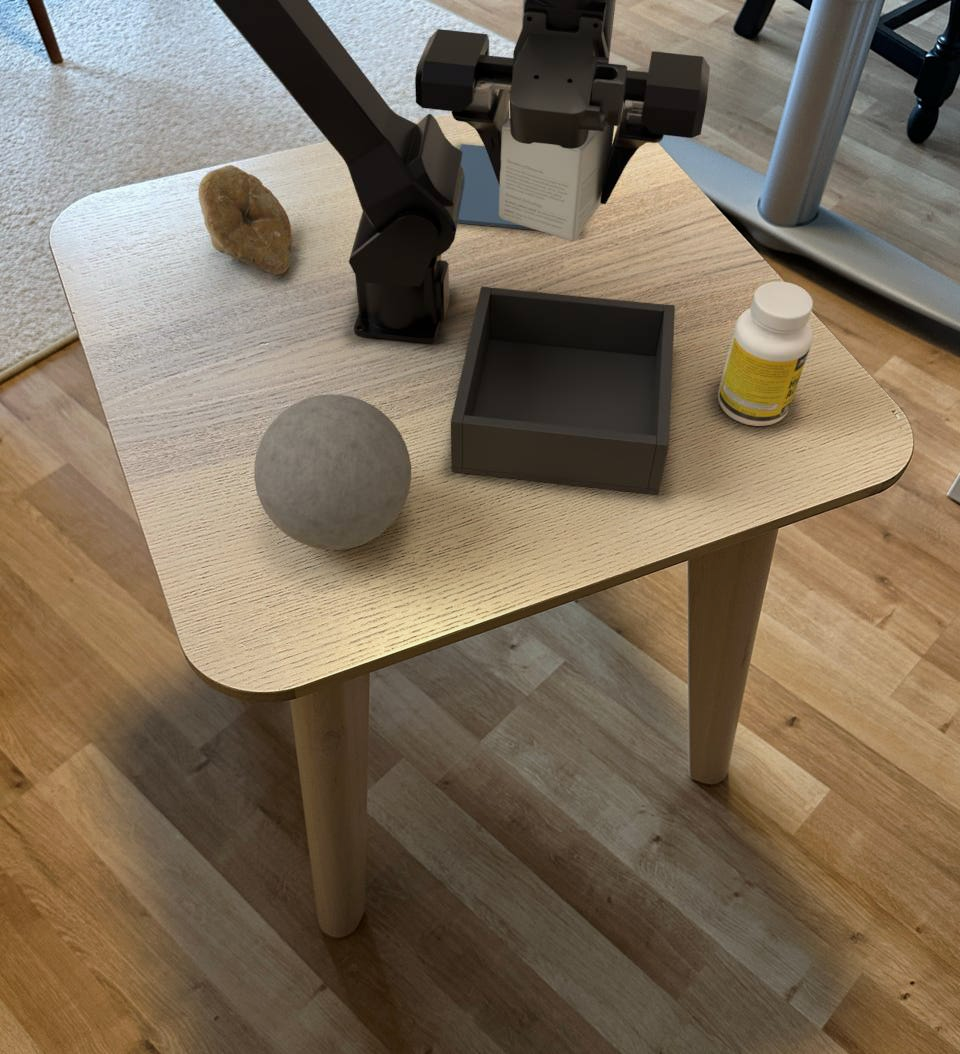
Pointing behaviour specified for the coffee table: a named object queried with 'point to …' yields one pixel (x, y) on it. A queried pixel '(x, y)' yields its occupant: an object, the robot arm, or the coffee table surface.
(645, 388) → the bin
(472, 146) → the mat
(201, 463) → the coffee table surface
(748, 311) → the supplement bottle
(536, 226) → the product carton
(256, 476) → the decorative ball
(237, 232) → the fossil
